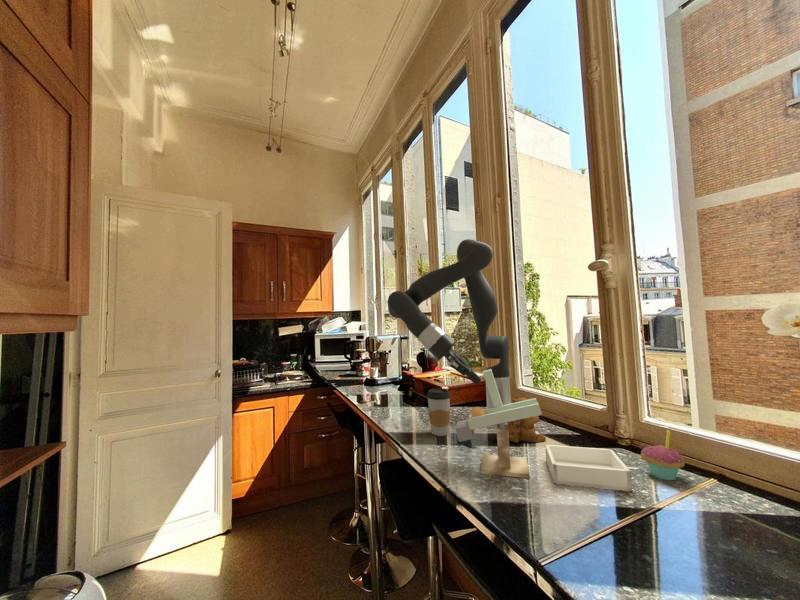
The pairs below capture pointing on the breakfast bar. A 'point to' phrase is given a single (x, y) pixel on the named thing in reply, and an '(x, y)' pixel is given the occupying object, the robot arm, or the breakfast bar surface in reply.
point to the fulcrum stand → (504, 459)
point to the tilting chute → (496, 412)
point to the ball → (477, 412)
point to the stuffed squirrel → (524, 428)
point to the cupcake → (663, 460)
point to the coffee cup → (439, 411)
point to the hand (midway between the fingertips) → (479, 382)
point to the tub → (587, 467)
